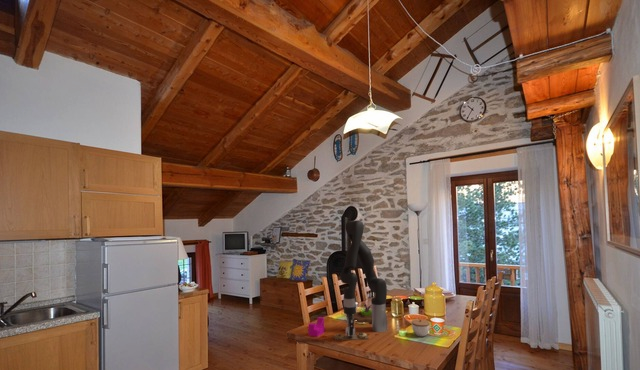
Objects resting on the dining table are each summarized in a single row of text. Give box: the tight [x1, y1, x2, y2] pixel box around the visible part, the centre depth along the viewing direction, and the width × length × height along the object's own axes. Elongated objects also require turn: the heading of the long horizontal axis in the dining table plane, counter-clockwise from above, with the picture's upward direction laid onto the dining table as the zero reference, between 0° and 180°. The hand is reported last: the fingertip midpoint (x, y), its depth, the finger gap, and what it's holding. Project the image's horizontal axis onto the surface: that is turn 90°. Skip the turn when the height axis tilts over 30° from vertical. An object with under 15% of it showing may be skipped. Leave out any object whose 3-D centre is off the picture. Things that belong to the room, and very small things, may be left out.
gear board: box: [333, 332, 370, 342], centre depth 216 cm, size 21×6×3 cm, turn 95°
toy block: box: [308, 316, 326, 337], centre depth 228 cm, size 15×6×8 cm, turn 155°
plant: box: [353, 303, 372, 324], centre depth 254 cm, size 20×20×11 cm
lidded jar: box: [411, 318, 430, 337], centre depth 220 cm, size 11×11×9 cm
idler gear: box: [345, 325, 356, 336], centre depth 216 cm, size 6×5×4 cm
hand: (350, 333), depth 216 cm, fingers closed on idler gear, 5 cm apart
